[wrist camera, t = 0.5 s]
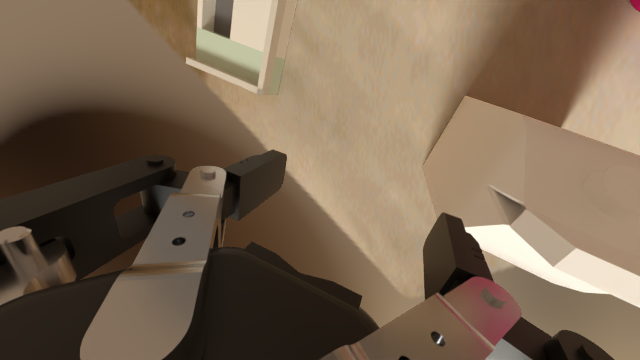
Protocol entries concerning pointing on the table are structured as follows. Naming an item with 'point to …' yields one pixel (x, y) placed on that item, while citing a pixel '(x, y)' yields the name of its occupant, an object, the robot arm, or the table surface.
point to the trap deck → (244, 41)
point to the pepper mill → (636, 4)
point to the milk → (541, 197)
